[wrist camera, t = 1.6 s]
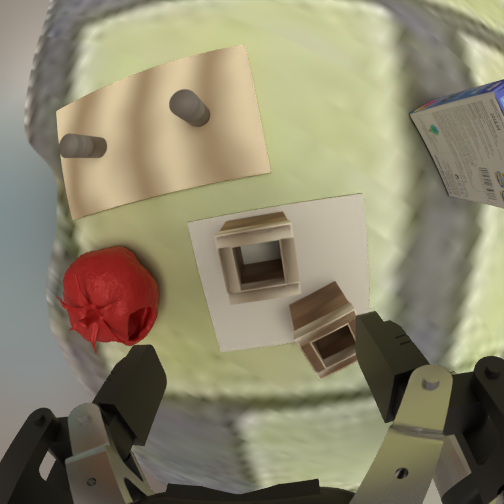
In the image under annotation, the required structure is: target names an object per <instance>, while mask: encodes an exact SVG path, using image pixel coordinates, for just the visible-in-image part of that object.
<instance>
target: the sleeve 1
mask: <svg viewBox="0 0 504 504" xmlns="http://www.w3.org/2000/svg"><path fill="white" fill-rule="evenodd" d="M214 238H215V242H216V247H217V251H218V256H219V260H220V265H221V269H222V274H223V278H224V282H225V287H226V291H227V295H228V299H229V303H230V305H234V304H241V303H248V302H255V301H262V300H268V299H274V298H280V297H287V296H293V295H298V294H301V287H300V279H299V271H298V264H297V257H296V249H295V242H294V236H293V229H292V223H291V221H290V220H288V219H287V218H286V216H285V214H284V212H283V211H282V212H275V213H269V214H264V215H258V216H252V217H246V218H240V219H235V220H229V221H226V222H225V224H224V225H223V227H222V228H221V230H220V231H219V232H216V234H215V235H214ZM274 240H278V242H279V248H280V254H281V259H275V260H269V261H263V262H257V263H251V264H245V265H244V262H243V257H242V252H241V247H240V246H245V245H251V244H256V243H262V242H268V241H274Z"/></svg>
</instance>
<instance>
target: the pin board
mask: <svg viewBox="0 0 504 504" xmlns="http://www.w3.org/2000/svg"><path fill="white" fill-rule="evenodd" d="M56 114H57V128H58V138H59V152H60V155H61V163H62V169H63V175H64V181H65V187H66V192H67V197H68V202H69V207H70V211H71V216H72V220H74V219H77V218H80V217H83V216H86V215H90V214H93V213H96V212H100V211H103V210H106V209H110V208H113V207H117V206H120V205H124V204H128V203H131V202H135V201H139V200H143V199H146V198H150V197H154V196H158V195H162V194H166V193H171V192H175V191H179V190H183V189H188V188H192V187H197V186H202V185H206V184H211V183H216V182H221V181H226V180H231V179H236V178H242V177H247V176H253V175H258V174H264V173H270V172H271V171H270V166H269V160H268V155H267V150H266V144H265V139H264V134H263V128H262V123H261V118H260V113H259V108H258V103H257V98H256V93H255V89H254V84H253V79H252V74H251V70H250V65H249V60H248V56H247V51H246V47H245V45H240V46H234V47H229V48H224V49H219V50H214V51H210V52H206V53H201V54H197V55H193V56H190V57H186V58H182V59H179V60H175V61H172V62H169V63H165V64H162V65H159V66H156V67H153V68H150V69H147V70H145V71H142V72H139V73H137V74H134V75H131V76H129V77H126V78H124V79H121V80H119V81H116V82H114V83H112V84H109V85H107V86H105V87H103V88H101V89H98V90H96V91H94V92H92V93H90V94H88V95H86V96H84V97H82V98H80V99H78V100H76V101H74V102H72V103H70V104H69V105H67V106H65V107H63V108H61V109H60V110H58V111H56Z"/></svg>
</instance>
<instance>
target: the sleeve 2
mask: <svg viewBox="0 0 504 504" xmlns="http://www.w3.org/2000/svg"><path fill="white" fill-rule="evenodd" d="M289 307H290V312H291V317H292V322H293V327H294V331H293V335H294V340H295V341H296V343H297V344H298V346H299V348H300V349H301V351H302V352H303V354H304V356H305V357H306V359H307V360H308V362H309V363H310V365H311V367H312V368H313V370H314V371H315V373H316V374H317V376H318V378H319V379H323V378H325V377H327V376H329V375H331V374H333V373H335V372H337V371H340V370H342V369H344V368H346V367H348V366H350V365H352V364H354V363H355V362H357V357H356V350H355V319H356V316H357V313H356V311H355V309H354V307H353V305H352V304H351V302H348V300H347V299H346V297H345V295H344V294H343V292H342V291H341V289H340V287H339V286H338V284H337V283H336V281H334V282H332V283H330V284H328V285H326V286H325V287H323V288H321V289H319V290H317V291H315V292H313V293H312V294H310V295H308V296H306V297H304V298H302V299H300V300H298V301H296V302H294V303H292V304H290V305H289Z"/></svg>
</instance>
